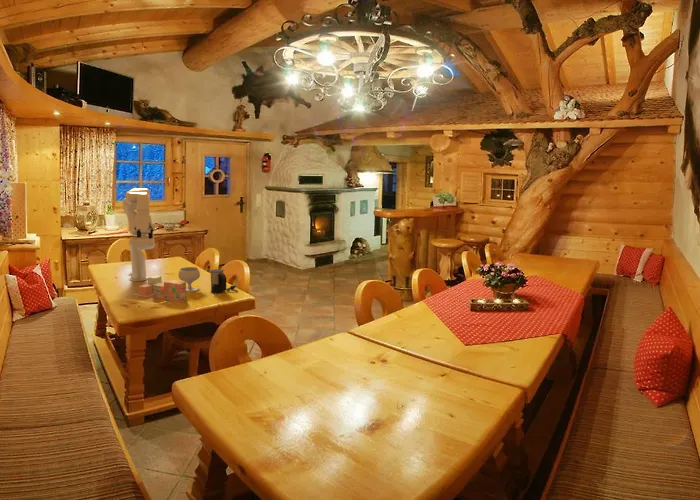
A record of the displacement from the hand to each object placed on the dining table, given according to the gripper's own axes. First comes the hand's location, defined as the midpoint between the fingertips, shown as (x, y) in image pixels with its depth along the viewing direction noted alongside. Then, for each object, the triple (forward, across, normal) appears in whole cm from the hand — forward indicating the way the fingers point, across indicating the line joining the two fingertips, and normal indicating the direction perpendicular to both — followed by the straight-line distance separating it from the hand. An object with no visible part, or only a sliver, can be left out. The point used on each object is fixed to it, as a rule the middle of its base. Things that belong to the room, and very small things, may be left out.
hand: (144, 237), depth 329 cm
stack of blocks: (+37, +28, -11) cm, 47 cm away
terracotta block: (+35, +8, -11) cm, 38 cm away
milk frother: (+37, +47, +20) cm, 63 cm away
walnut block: (+36, +8, -2) cm, 36 cm away
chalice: (+36, +25, +12) cm, 46 cm away
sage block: (+32, +8, -2) cm, 33 cm away
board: (+36, +8, -6) cm, 38 cm away
